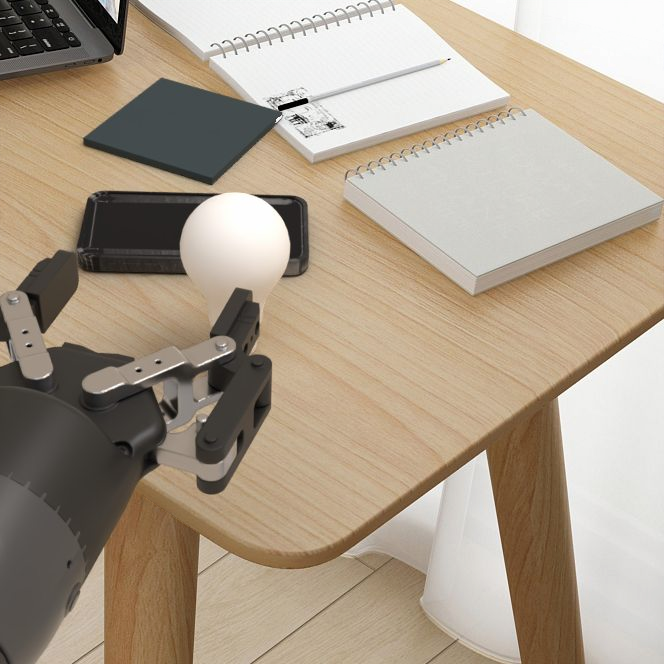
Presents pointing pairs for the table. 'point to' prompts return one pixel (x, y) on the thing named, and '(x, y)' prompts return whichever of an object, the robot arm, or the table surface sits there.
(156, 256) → the phone
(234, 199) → the lightbulb
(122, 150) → the mat
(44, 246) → the table surface
